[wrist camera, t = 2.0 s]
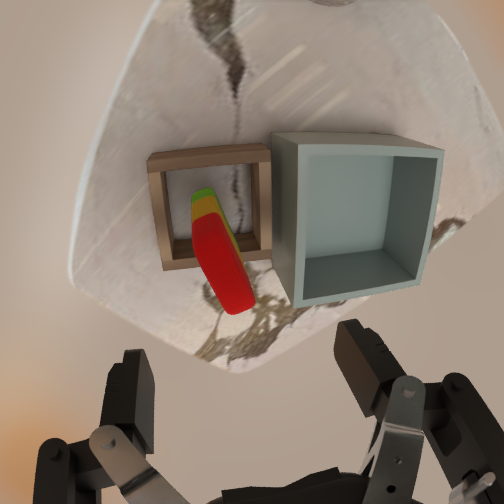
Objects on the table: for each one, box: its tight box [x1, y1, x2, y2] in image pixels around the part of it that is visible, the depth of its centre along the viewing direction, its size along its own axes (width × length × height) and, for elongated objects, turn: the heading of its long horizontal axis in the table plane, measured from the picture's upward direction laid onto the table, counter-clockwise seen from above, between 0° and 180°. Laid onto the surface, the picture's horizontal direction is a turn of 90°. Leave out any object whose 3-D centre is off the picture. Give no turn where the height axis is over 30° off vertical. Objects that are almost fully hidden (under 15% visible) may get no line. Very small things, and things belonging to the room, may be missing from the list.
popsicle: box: [191, 187, 255, 315], centre depth 23 cm, size 6×15×2 cm
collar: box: [146, 143, 272, 271], centre depth 28 cm, size 10×10×4 cm
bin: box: [271, 132, 444, 309], centre depth 29 cm, size 14×14×8 cm
